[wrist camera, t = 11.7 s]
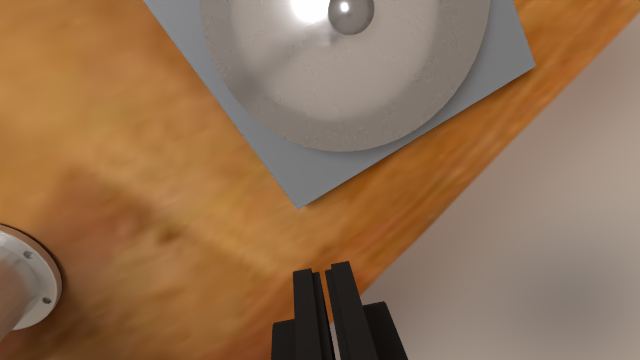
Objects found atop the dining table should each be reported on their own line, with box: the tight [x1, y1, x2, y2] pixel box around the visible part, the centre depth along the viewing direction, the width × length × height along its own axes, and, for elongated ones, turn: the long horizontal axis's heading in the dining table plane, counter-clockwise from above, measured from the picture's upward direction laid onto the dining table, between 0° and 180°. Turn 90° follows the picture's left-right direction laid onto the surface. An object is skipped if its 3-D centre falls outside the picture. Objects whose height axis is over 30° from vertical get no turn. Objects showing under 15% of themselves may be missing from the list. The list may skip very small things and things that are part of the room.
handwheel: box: [199, 0, 490, 152], centre depth 23 cm, size 20×20×7 cm
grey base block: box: [143, 0, 536, 210], centre depth 28 cm, size 24×24×4 cm
